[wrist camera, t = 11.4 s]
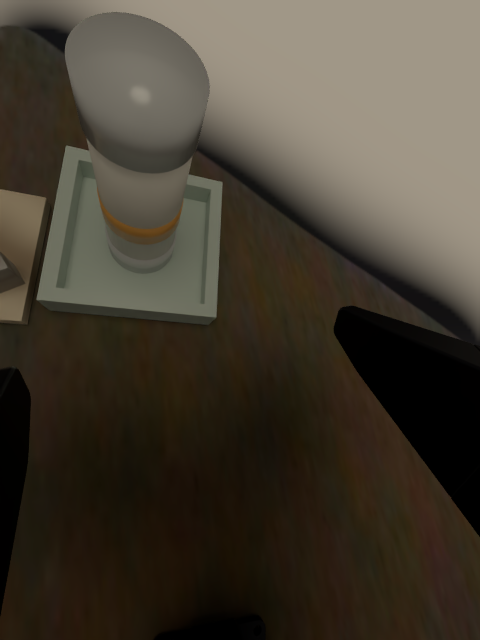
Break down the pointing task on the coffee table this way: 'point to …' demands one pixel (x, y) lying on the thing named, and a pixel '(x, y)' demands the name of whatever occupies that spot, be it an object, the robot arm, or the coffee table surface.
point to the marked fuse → (138, 128)
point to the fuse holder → (20, 252)
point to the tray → (112, 279)
